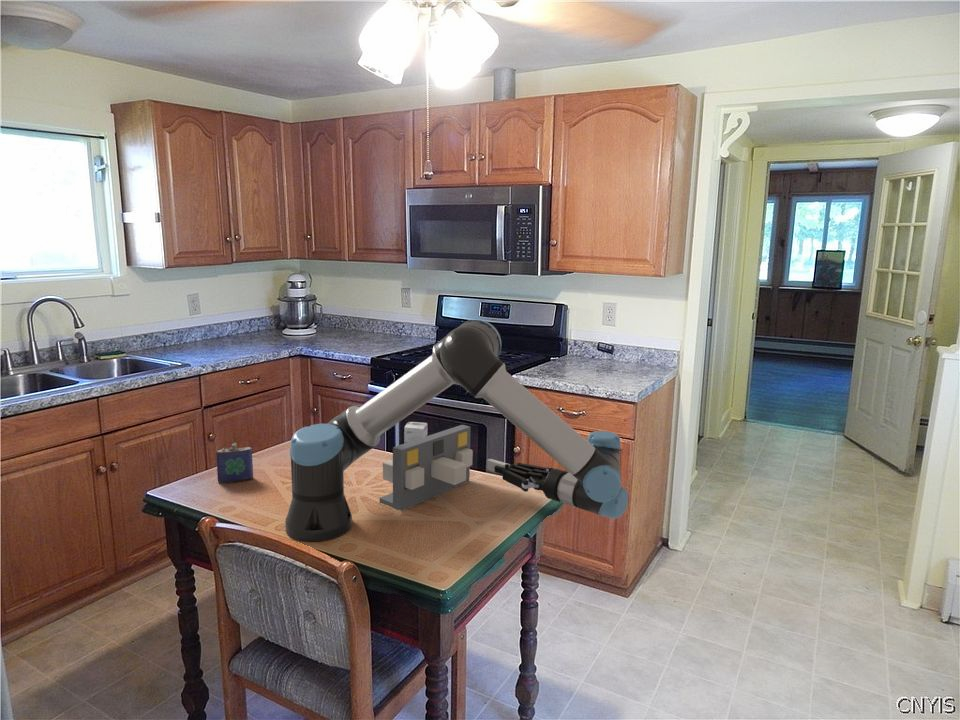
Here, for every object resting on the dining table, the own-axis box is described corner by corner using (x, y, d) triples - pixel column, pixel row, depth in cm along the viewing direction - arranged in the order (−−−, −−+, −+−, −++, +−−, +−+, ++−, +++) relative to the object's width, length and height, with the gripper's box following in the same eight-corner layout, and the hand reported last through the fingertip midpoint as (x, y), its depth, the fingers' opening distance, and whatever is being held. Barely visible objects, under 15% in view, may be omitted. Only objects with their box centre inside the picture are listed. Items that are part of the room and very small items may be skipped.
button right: (461, 469, 172) (462, 453, 171) (433, 460, 178) (433, 445, 177) (472, 465, 175) (472, 449, 174) (444, 456, 181) (444, 441, 181)
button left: (411, 489, 157) (411, 473, 156) (382, 479, 164) (382, 462, 163) (424, 484, 160) (424, 468, 160) (395, 474, 167) (395, 458, 166)
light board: (402, 511, 158) (402, 450, 155) (379, 502, 163) (379, 442, 160) (470, 481, 178) (471, 427, 175) (448, 474, 183) (449, 421, 180)
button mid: (454, 485, 161) (455, 468, 160) (424, 474, 167) (425, 458, 166) (466, 480, 164) (466, 464, 163) (436, 470, 171) (436, 454, 170)
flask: (253, 476, 178) (251, 440, 176) (253, 480, 176) (252, 443, 174) (217, 481, 175) (215, 443, 173) (217, 484, 172) (215, 447, 170)
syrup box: (427, 469, 187) (427, 421, 184) (423, 476, 181) (423, 427, 178) (408, 467, 188) (408, 420, 185) (403, 475, 182) (403, 426, 179)
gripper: (549, 510, 150) (472, 484, 164) (577, 493, 160) (502, 470, 174) (550, 480, 148) (473, 456, 163) (579, 465, 158) (503, 444, 173)
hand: (488, 464), depth 169 cm, fingers closed
